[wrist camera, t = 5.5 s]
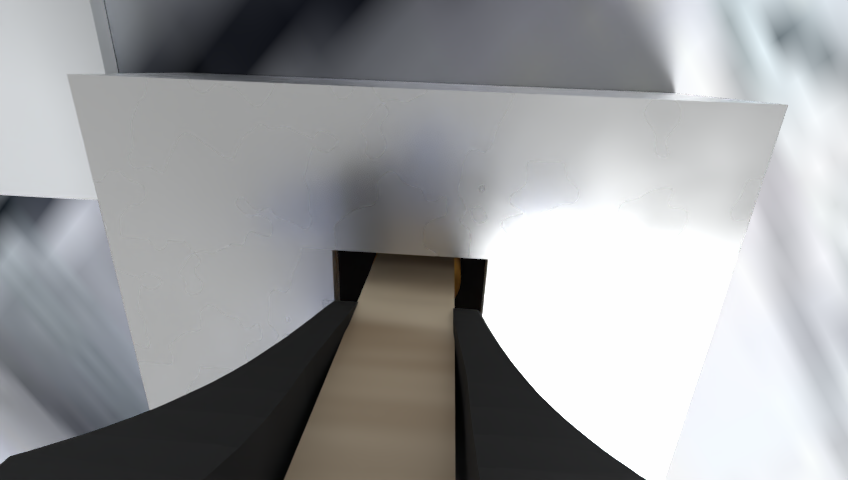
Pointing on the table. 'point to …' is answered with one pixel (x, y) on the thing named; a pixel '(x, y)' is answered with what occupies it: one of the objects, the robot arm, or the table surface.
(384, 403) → the long tan rectangular block
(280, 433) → the robot arm
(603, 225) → the guard box
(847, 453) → the table surface
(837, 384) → the table surface
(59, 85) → the pad
